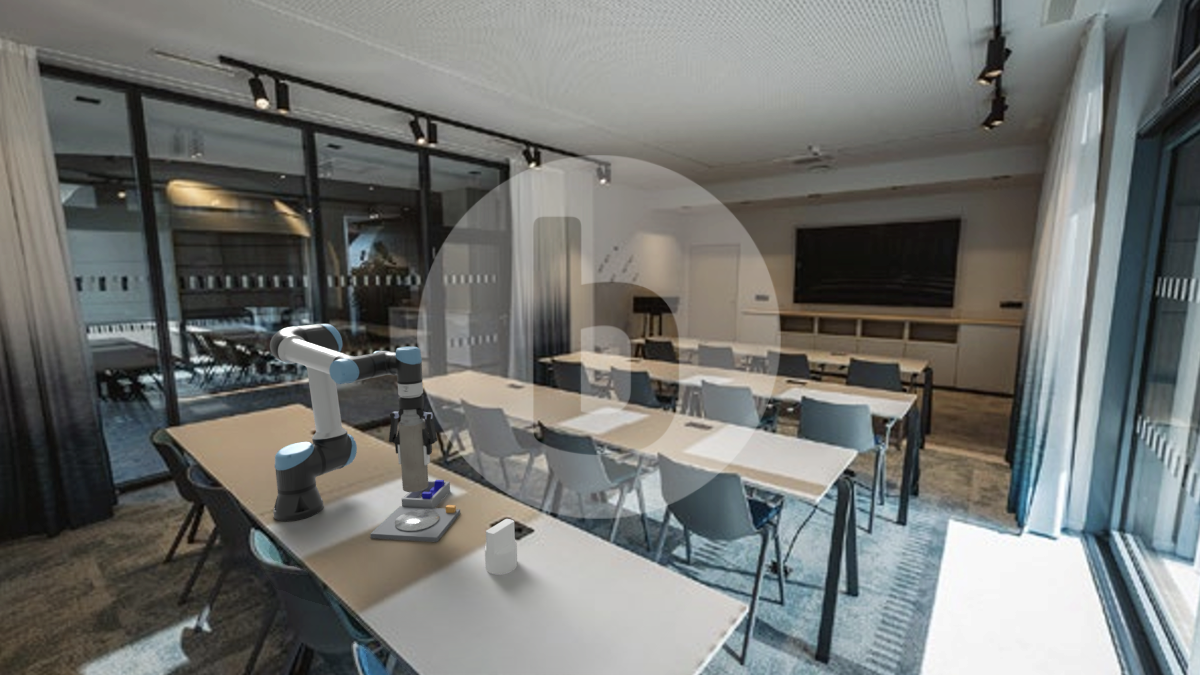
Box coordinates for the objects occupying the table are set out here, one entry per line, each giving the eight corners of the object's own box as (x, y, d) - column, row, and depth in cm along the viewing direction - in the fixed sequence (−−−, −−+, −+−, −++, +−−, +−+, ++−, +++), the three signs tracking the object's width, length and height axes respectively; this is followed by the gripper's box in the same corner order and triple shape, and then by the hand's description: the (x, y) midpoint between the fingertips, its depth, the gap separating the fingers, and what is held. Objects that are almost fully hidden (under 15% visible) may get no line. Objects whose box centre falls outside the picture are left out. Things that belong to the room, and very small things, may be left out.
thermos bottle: (415, 480, 174) (411, 400, 170) (433, 484, 170) (429, 402, 167) (397, 489, 166) (392, 405, 163) (415, 494, 163) (411, 408, 159)
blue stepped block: (433, 494, 194) (432, 479, 193) (444, 495, 193) (443, 479, 192) (418, 509, 182) (417, 493, 181) (430, 509, 181) (430, 493, 181)
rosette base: (370, 538, 162) (369, 527, 162) (400, 510, 181) (399, 500, 180) (437, 542, 160) (436, 531, 159) (460, 513, 178) (459, 503, 178)
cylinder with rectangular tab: (502, 578, 141) (501, 537, 139) (478, 568, 146) (477, 528, 144) (523, 562, 148) (522, 523, 147) (500, 553, 153) (499, 515, 152)
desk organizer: (402, 509, 181) (401, 498, 181) (422, 490, 197) (422, 480, 196) (431, 511, 180) (431, 500, 179) (450, 491, 196) (449, 481, 195)
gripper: (373, 397, 162) (378, 466, 165) (436, 398, 159) (440, 468, 162) (386, 391, 169) (390, 457, 172) (446, 393, 167) (449, 460, 170)
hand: (414, 463), depth 167 cm, fingers closed on thermos bottle, 8 cm apart
